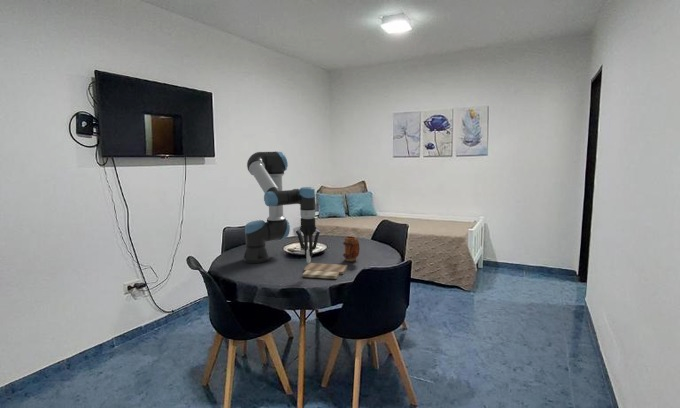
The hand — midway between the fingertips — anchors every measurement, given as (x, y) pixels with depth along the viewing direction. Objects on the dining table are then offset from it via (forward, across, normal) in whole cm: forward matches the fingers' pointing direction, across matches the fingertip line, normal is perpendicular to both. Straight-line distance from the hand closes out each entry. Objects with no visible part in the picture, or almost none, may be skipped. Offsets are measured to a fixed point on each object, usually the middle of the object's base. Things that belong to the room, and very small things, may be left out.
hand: (308, 262), depth 194 cm
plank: (+8, +6, +2) cm, 10 cm away
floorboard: (+8, +6, +12) cm, 16 cm away
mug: (+8, +18, +29) cm, 35 cm away
